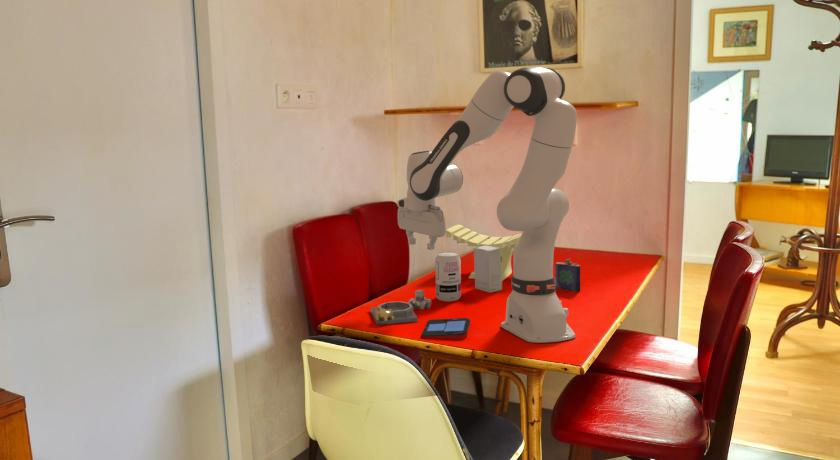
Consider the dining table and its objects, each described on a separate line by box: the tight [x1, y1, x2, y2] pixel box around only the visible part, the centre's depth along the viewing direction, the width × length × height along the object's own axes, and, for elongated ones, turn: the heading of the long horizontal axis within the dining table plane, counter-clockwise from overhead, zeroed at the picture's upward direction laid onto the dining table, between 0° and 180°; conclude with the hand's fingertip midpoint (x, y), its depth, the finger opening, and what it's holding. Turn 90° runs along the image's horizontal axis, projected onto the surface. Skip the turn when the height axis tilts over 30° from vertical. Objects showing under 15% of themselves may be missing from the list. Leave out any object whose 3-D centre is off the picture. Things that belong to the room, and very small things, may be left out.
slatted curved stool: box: [445, 224, 522, 282], centre depth 245 cm, size 30×16×18 cm, turn 67°
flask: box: [554, 258, 581, 293], centre depth 222 cm, size 9×3×11 cm, turn 50°
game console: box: [420, 317, 471, 340], centre depth 183 cm, size 14×13×2 cm
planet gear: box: [408, 289, 432, 310], centre depth 207 cm, size 7×7×5 cm
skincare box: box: [473, 245, 503, 293], centre depth 224 cm, size 8×6×15 cm
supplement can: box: [434, 251, 462, 302], centre depth 214 cm, size 8×8×15 cm
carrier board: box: [369, 300, 419, 326], centre depth 197 cm, size 14×12×3 cm
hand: (421, 246), depth 205 cm, fingers open, 8 cm apart
